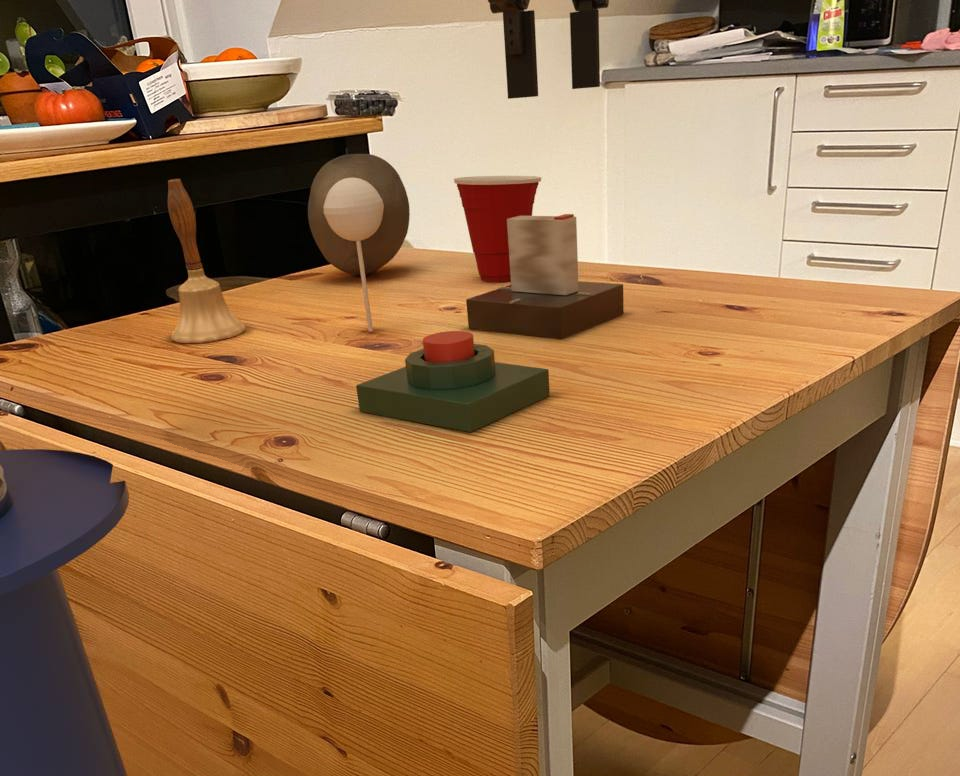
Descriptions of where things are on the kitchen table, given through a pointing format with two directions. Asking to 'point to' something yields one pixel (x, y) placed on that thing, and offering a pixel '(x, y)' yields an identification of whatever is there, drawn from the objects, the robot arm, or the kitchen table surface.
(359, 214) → the lollipop
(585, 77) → the robot arm
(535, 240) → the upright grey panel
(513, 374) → the button box
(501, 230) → the plastic cup
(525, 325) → the plate
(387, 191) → the brown ovoid
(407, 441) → the kitchen table surface
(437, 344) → the bell button
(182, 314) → the hand bell
